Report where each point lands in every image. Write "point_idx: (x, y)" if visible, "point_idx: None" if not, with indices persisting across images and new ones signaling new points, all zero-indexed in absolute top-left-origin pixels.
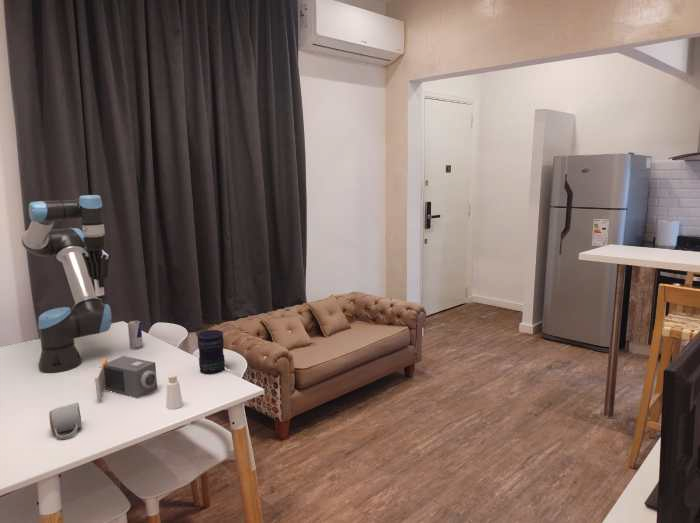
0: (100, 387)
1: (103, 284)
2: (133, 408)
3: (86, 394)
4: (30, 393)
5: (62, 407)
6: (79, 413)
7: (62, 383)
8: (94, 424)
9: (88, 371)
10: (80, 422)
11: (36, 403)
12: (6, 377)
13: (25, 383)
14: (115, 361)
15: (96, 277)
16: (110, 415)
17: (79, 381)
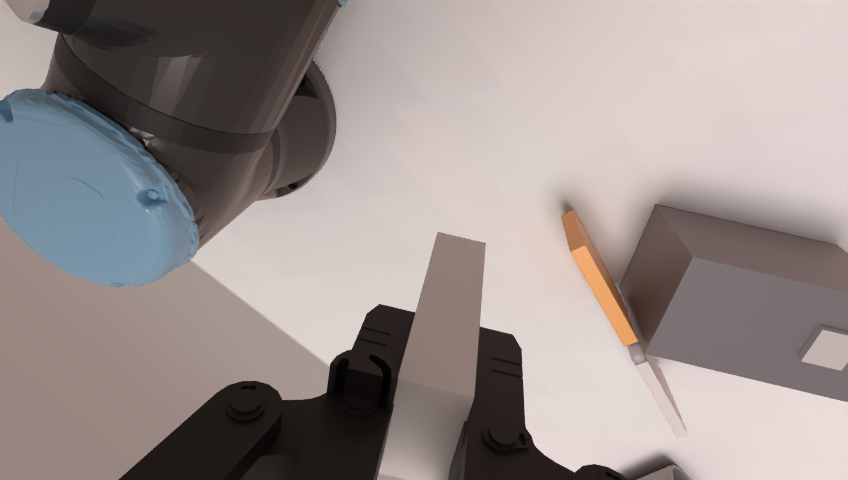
0: (663, 380)
1: (519, 371)
2: None
3: (567, 320)
4: None
5: None
6: (671, 475)
7: (413, 259)
8: (715, 462)
9: (424, 144)
10: (675, 468)
11: None
12: None
13: (287, 277)
14: (688, 320)
15: (380, 464)
16: (738, 423)
17: (462, 236)
